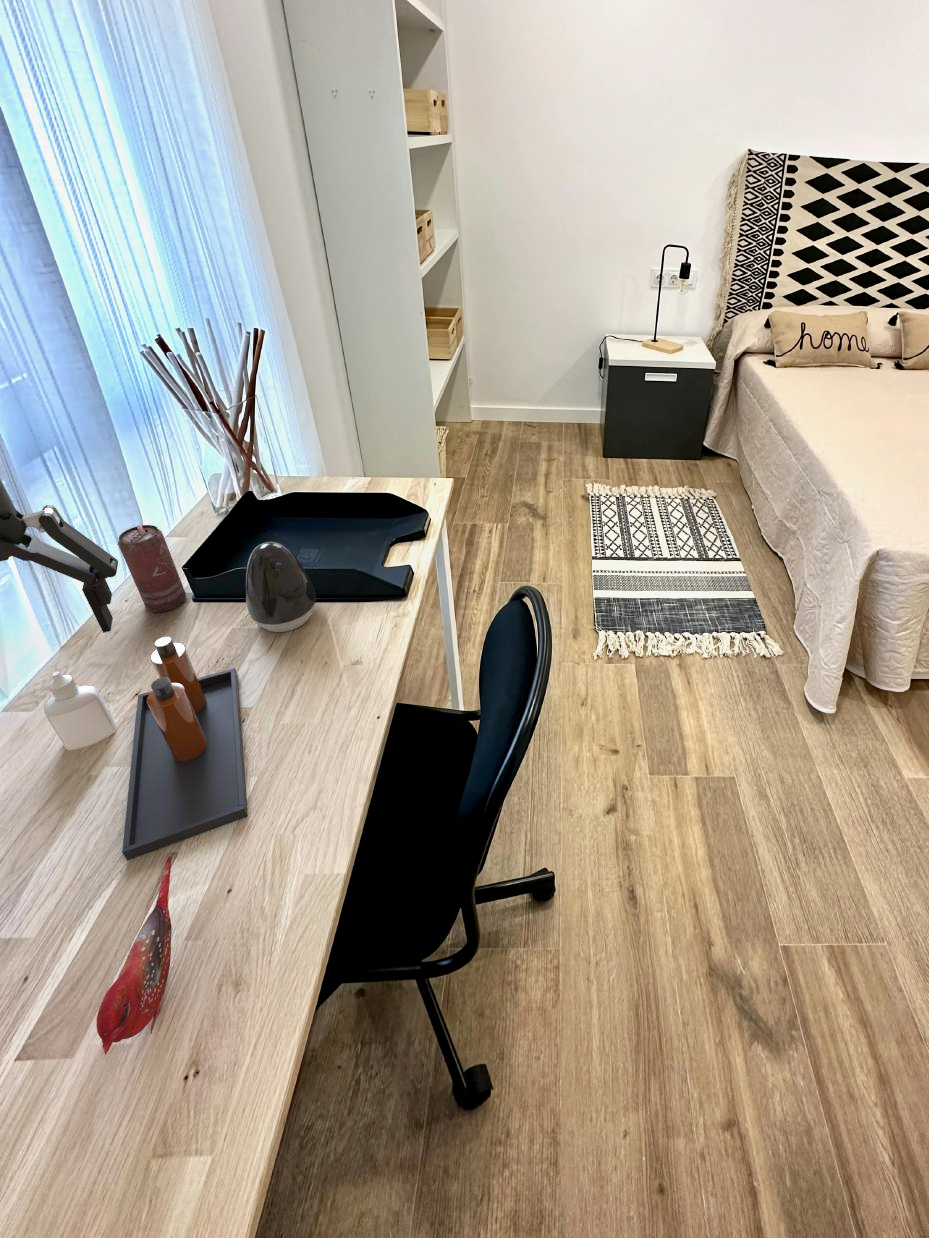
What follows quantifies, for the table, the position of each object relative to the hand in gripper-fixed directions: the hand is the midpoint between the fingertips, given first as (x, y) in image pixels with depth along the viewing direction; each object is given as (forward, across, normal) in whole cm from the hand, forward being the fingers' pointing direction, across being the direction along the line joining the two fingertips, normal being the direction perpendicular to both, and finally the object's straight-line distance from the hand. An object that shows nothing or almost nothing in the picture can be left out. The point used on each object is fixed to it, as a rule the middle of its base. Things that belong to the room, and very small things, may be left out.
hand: (39, 641), depth 74 cm
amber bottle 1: (+17, +11, +1) cm, 20 cm away
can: (+18, +7, +29) cm, 35 cm away
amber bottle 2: (+17, +11, -7) cm, 22 cm away
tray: (+18, +11, -8) cm, 22 cm away
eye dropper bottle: (+18, 0, +1) cm, 18 cm away
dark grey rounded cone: (+18, +25, +15) cm, 34 cm away
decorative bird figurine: (+18, +9, -35) cm, 40 cm away
